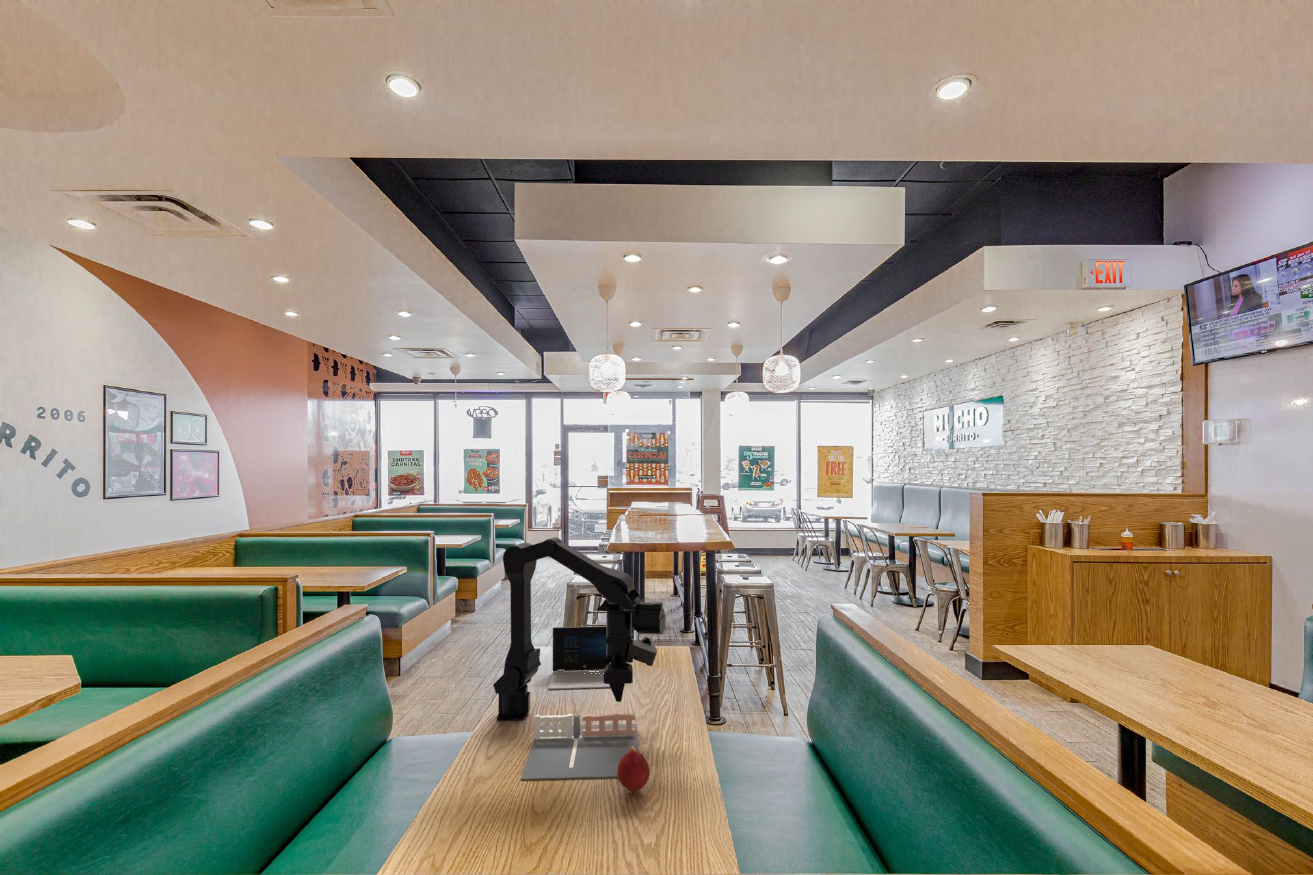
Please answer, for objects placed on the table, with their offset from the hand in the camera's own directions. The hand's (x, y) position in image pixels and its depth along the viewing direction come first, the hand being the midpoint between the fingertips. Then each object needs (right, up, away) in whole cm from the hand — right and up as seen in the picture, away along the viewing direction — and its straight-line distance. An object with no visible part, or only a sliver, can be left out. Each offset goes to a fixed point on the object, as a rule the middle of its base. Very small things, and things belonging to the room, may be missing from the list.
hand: (618, 701), depth 133 cm
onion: (+4, -5, -27) cm, 27 cm away
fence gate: (-3, -5, -6) cm, 8 cm away
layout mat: (-6, -5, -11) cm, 14 cm away
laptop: (-11, -7, +28) cm, 31 cm away
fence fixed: (-13, -5, -6) cm, 16 cm away
